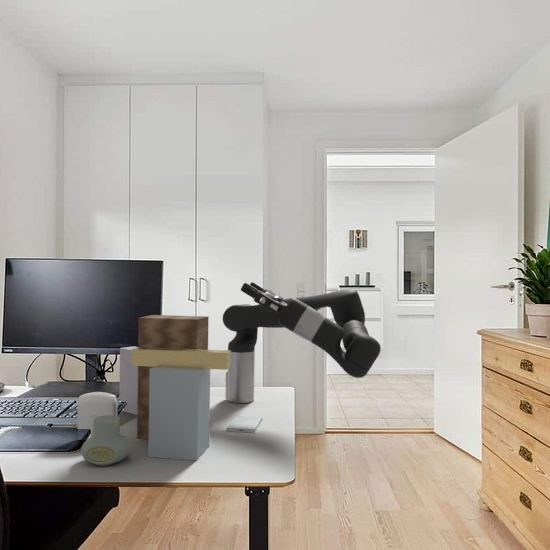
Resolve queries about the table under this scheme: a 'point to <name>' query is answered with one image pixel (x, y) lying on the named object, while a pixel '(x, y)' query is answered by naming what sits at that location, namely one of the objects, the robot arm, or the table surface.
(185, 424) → the block
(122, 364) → the game console
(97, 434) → the air freshener
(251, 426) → the hard drive
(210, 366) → the bar
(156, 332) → the stand
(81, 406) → the photo printer
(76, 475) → the table surface
